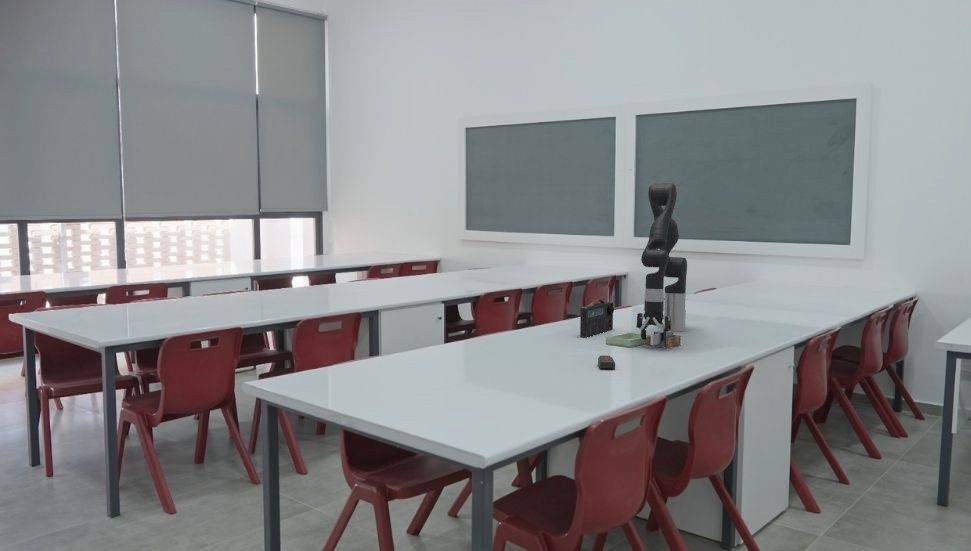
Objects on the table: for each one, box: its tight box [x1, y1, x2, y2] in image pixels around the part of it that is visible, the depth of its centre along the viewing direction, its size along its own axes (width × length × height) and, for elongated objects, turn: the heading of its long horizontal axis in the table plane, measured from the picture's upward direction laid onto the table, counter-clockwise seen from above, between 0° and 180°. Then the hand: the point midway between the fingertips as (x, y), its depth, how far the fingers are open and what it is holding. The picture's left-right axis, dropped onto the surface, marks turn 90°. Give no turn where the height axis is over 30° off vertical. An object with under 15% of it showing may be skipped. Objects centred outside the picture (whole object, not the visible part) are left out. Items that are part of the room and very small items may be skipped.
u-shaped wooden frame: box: [646, 334, 682, 349], centre depth 321 cm, size 10×10×4 cm
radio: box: [579, 286, 615, 339], centre depth 351 cm, size 25×4×20 cm, turn 145°
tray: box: [605, 331, 651, 349], centre depth 326 cm, size 18×12×3 cm, turn 137°
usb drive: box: [597, 355, 616, 370], centre depth 282 cm, size 5×12×3 cm, turn 177°
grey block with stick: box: [650, 329, 674, 348], centre depth 319 cm, size 12×5×6 cm, turn 137°
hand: (653, 340), depth 315 cm, fingers open, 8 cm apart
